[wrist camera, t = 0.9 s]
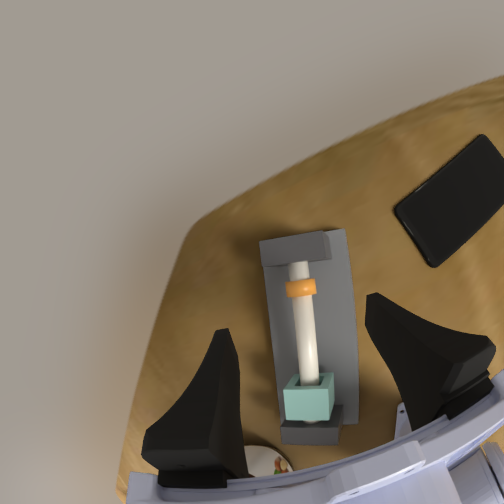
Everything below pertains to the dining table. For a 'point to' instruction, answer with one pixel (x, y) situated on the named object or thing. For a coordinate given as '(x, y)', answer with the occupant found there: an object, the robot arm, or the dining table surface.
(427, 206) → the smartphone
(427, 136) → the dining table surface
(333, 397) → the marker sleeve
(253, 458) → the spread jar
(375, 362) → the dining table surface
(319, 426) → the rod and ring fixture
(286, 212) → the dining table surface
